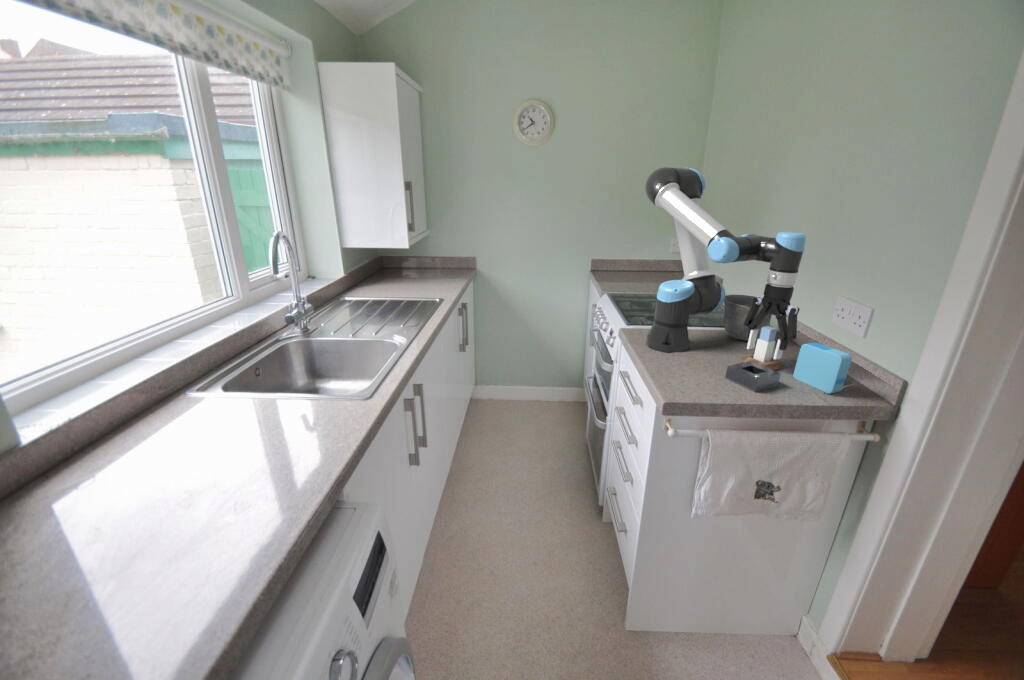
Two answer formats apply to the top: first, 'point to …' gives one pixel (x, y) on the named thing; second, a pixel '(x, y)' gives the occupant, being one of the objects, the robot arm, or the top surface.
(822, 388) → the data package
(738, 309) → the grey metal pot
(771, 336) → the plug
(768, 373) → the port
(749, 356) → the frame
